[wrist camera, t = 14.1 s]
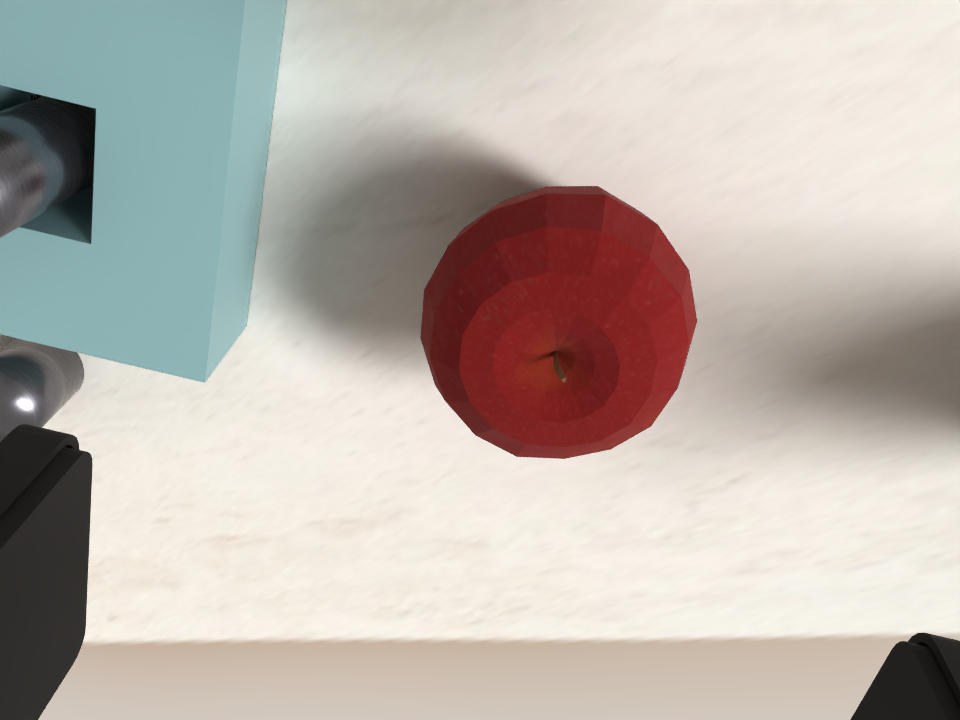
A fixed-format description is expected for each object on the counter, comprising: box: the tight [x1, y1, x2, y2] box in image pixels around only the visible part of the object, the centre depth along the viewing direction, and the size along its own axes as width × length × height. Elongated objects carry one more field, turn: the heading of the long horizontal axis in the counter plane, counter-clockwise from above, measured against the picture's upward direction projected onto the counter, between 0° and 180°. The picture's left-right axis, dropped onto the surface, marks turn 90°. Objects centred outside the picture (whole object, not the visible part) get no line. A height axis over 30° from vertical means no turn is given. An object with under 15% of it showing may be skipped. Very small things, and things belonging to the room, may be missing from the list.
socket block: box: [0, 0, 287, 382], centre depth 39 cm, size 16×16×6 cm
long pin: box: [0, 96, 96, 238], centre depth 36 cm, size 4×4×12 cm
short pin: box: [0, 338, 84, 442], centre depth 45 cm, size 4×4×5 cm
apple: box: [421, 186, 697, 459], centre depth 37 cm, size 11×11×12 cm
